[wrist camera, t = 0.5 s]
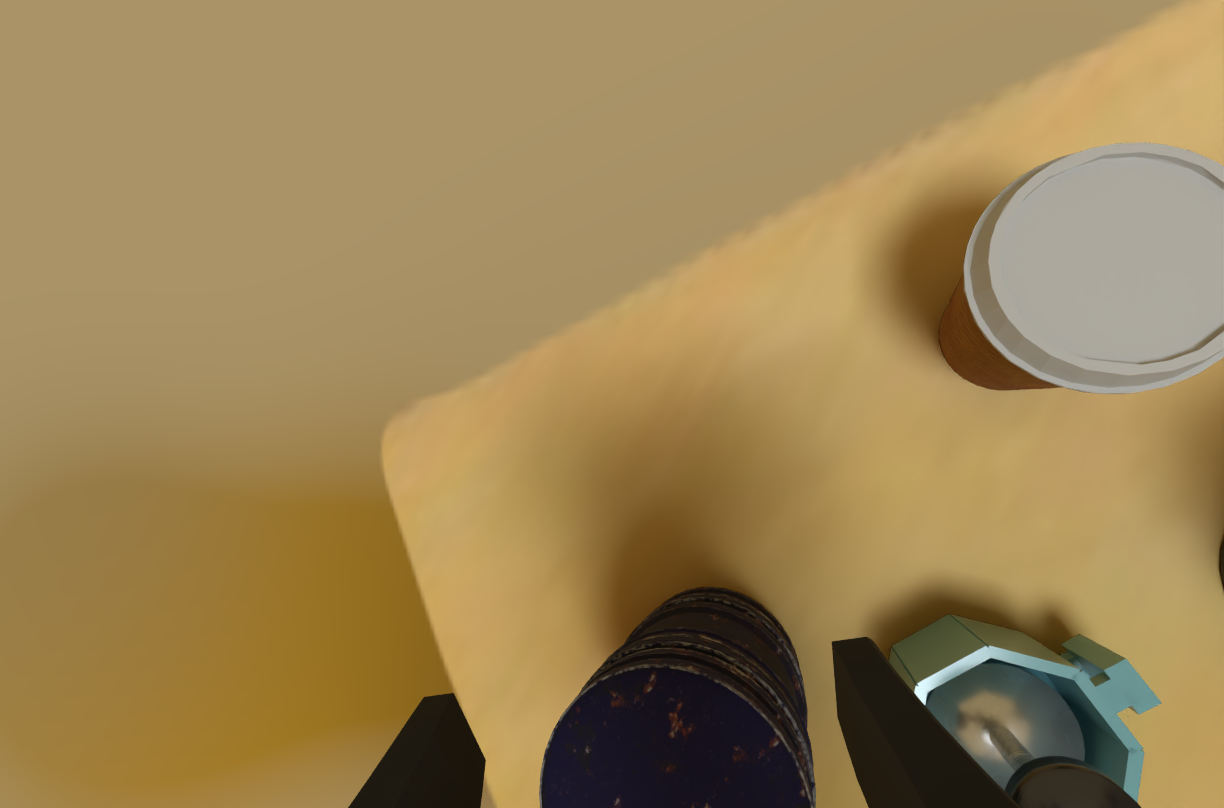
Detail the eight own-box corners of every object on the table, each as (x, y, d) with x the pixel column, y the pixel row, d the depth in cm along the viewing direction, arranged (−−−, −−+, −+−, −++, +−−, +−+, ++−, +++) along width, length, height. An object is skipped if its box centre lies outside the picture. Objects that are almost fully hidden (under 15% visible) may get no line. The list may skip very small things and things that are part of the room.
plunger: (1115, 769, 26) (1258, 894, 18) (982, 833, 27) (1064, 978, 19) (1013, 636, 27) (1105, 699, 20) (892, 702, 28) (935, 787, 21)
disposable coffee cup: (998, 455, 31) (1123, 445, 20) (870, 330, 34) (916, 257, 23) (1150, 338, 30) (1378, 254, 19) (1005, 217, 33) (1127, 78, 21)
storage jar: (614, 717, 35) (502, 880, 21) (658, 561, 36) (578, 619, 22) (777, 791, 33) (775, 1039, 18) (824, 621, 33) (858, 733, 19)
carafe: (1145, 725, 28) (1237, 789, 23) (954, 821, 30) (995, 902, 24) (1023, 571, 30) (1080, 594, 25) (851, 668, 32) (867, 710, 26)
